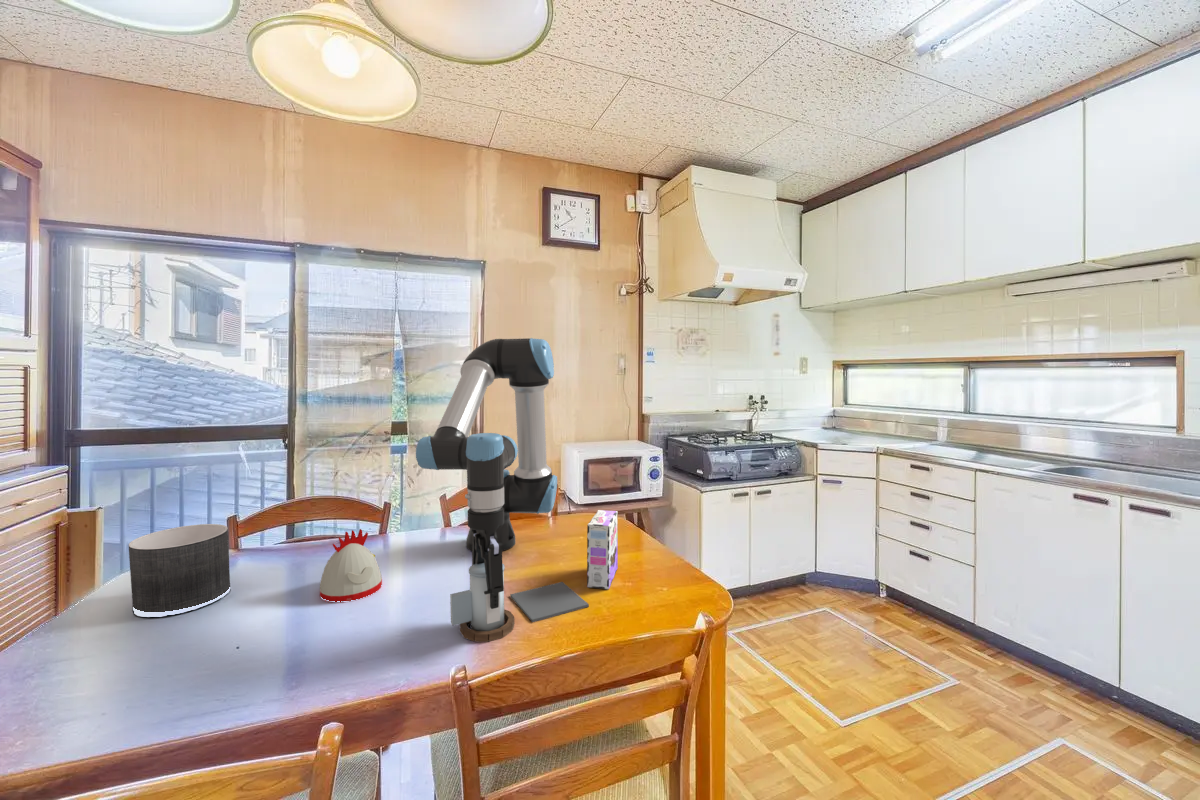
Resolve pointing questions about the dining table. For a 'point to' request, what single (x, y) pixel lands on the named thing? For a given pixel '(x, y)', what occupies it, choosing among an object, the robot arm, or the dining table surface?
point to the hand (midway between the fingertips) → (487, 613)
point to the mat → (548, 601)
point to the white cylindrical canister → (475, 602)
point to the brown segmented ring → (488, 635)
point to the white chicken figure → (350, 571)
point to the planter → (179, 567)
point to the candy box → (602, 549)
